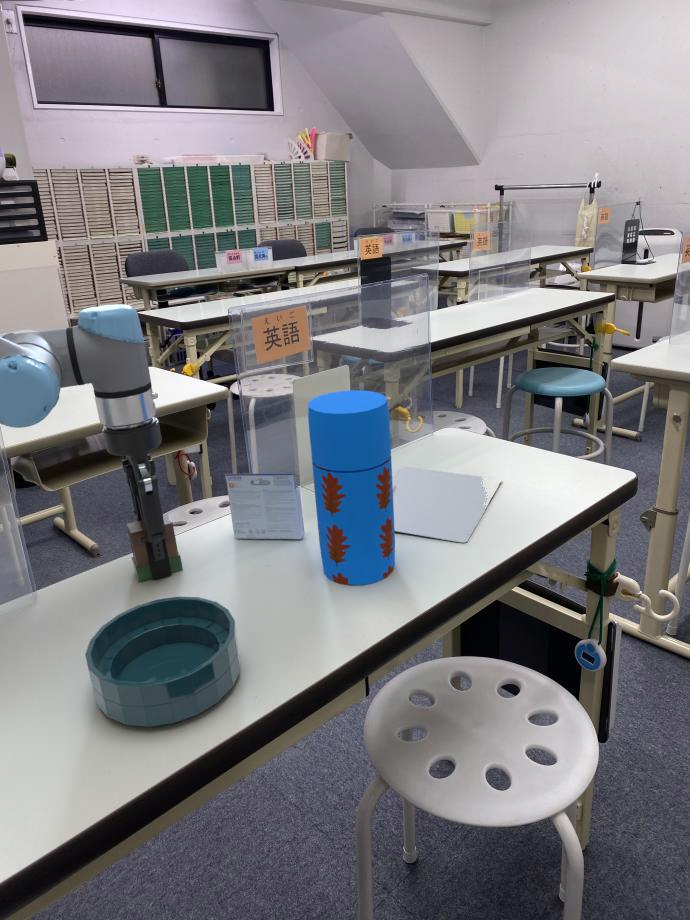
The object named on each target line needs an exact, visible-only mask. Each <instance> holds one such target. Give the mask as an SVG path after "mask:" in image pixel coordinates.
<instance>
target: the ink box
mask: <svg viewBox="0 0 690 920" xmlns="http://www.w3.org/2000/svg"><path fill="white" fill-rule="evenodd" d="M224 478H225V483H226V487H227V488H226V490H227V495H228V503H229V509H230V517H231V524H232V530H233V535H234V536H233V538H234V539H235V540H240V539H241V540H303V539H304V536H305V534H306V533H305V523H304V515H303V506H302V498H301V488H300V486H296V477H295V473H294V472H283V473H281V472H276V473H275V472H273V473H272V472H271V473H269V472H268V473H267V472H265V473H225V474H224ZM259 480H262V481H264V482H265V481H268V483H253V482H254V481H255V482H256V481H259Z"/></svg>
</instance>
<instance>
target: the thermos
mask: <svg viewBox="0 0 690 920" xmlns="http://www.w3.org/2000/svg"><path fill="white" fill-rule="evenodd" d="M307 422H308V423H307V424H308V433H309V443H310V456H311V466H312V476H313V477H312V478H313V484H314V485H313V487H314V500H315V509H316V522H317V532H318V543H319V550H320V555H321V562H322V569H323V574H324V575H325V576H326V577H327V578H328V579H329V580H330V581H333V582H335V583H337V584H340V585H346V586H366V585H371V584H375V583H377V582H381V581H382V580H384V579H386V578H388V576H390V574H392V573H393V572H394V568H395V565H396V564H395V563H396V531H395V528H394V506H393V484H392V476H393V468H392V467H393V466H392V464H393V463H392V445H391V443H392V442H391V441H392V440H391V421H390V409H389V402H388V399H387V397H386V395H384V394H382V393H379V392H376V391H371V390H361V389H360V390H357V389H356V390H341V391H340V390H339V391H334V392H328V393H324V394H321V395H318V396H316V397H314V398H312V399H311V400H310V401H309V402H308V403H307Z"/></svg>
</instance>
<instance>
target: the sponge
mask: <svg viewBox="0 0 690 920" xmlns="http://www.w3.org/2000/svg"><path fill="white" fill-rule="evenodd" d="M163 520H164V525H165V531H166V533H167V538H165V541H166V546H167V552H168V557H169V562H170V568H171V573H172V574H173V573H178V572H180V571H183V570H184V568H183V562H182V556H181V553H180V552H179V550H178V545H177V539H176V533H175V528H174V523H173V521H172V519H171V518H170V516H169V514H168V513H163ZM126 528H127V529H126V530H127V534H128V538H129V544H130V548H131V553H132V556H131V561H132V562H131V563H132V566H133V571H134V574H135V576H136V579H137V581H138V583H142V582H147V581H149V580H153V578H152V573H151V568H150V563H149V558H148V553H147V549H146V544H145V542H144V543H142V542H141V538H142V537H145V531H144V526H143V522H142V520H140V521H137V520H136V521H132V522H129V523H126Z"/></svg>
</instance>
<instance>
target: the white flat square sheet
mask: <svg viewBox="0 0 690 920" xmlns="http://www.w3.org/2000/svg"><path fill="white" fill-rule="evenodd" d="M482 477H483V476H481V475H473V474H466V473H465V474H464V473H457V472H449V471H443V470H434V469H427V468H426V469H425V468H418V467H410V466H401V467H399V469H398V470H397V471H396V472H395V473H394V474H392V484H393V506H394V528H395V533H401V534H402V533H403V534H409V535H413V536H420V537H426V538H432V539H437V540H443V541H448V542H455V543H460V544H465V543H468V542H469V539H470V538H471V536H472V534H473V533H474V531H475V529H476V528H477V526H478V525H479V522H480V520H481V519H482V517H483V516H484V514H485V512H486V510H487V509H488V507H486V505H483V504H484V502H485V504H486V502H487V499H488V498H485V497H487V496H488V495H487V496H486V495H485V494H487V492H486V491H485V487H483V486H482V485H483V481H482V480H483V478H482ZM481 478H482V479H481ZM481 482H482V484H481ZM486 489H487V488H486ZM484 491H485V492H484ZM489 498H490V497H489ZM485 500H486V501H485ZM483 506H484V507H483ZM485 507H486V508H487V509H486V508H485ZM485 509H486V510H485Z"/></svg>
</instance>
